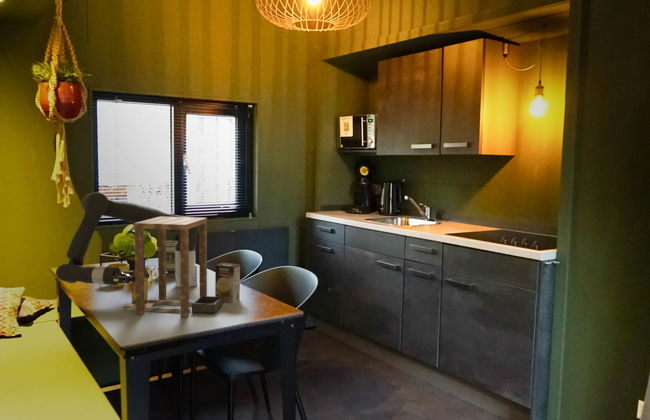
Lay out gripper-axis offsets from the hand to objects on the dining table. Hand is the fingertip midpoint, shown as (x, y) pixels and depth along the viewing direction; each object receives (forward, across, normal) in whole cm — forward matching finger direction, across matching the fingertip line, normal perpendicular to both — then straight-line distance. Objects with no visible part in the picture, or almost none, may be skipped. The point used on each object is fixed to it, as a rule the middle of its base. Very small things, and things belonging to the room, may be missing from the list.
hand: (145, 277), depth 225 cm
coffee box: (+30, +14, +12) cm, 36 cm away
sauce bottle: (-2, 0, +11) cm, 11 cm away
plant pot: (-29, +34, +13) cm, 46 cm away
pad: (-2, 0, +12) cm, 12 cm away
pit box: (+26, 0, +12) cm, 29 cm away
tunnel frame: (+8, 0, +12) cm, 14 cm away
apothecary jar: (-12, +58, +13) cm, 60 cm away
